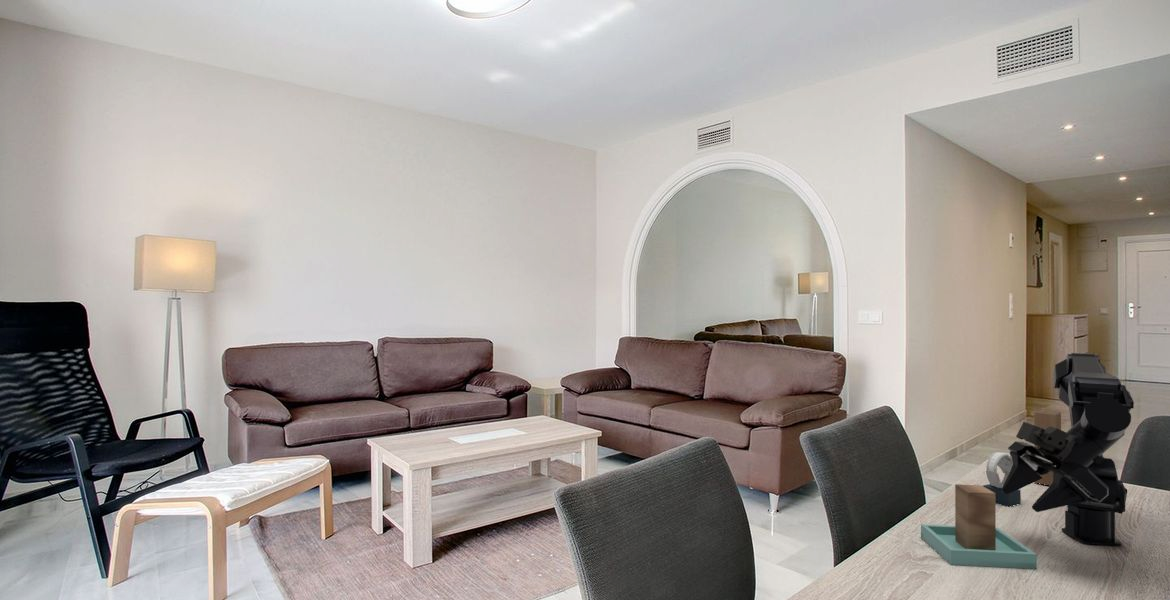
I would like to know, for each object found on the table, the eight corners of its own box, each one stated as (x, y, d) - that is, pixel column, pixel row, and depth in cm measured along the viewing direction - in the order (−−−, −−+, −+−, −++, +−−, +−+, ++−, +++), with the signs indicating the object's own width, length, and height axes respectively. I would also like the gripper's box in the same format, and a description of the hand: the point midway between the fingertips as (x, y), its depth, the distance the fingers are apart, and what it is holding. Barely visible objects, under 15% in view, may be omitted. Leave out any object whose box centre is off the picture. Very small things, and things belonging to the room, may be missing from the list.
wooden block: (1085, 489, 140) (1085, 414, 140) (1081, 493, 137) (1080, 416, 137) (1038, 480, 147) (1038, 408, 147) (1033, 483, 144) (1033, 411, 144)
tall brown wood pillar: (981, 542, 107) (981, 485, 107) (995, 552, 103) (995, 493, 103) (955, 540, 108) (955, 484, 108) (968, 551, 103) (968, 492, 103)
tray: (997, 540, 110) (997, 527, 110) (1036, 569, 99) (1036, 554, 99) (920, 537, 112) (920, 524, 112) (950, 564, 100) (950, 550, 100)
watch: (1025, 502, 130) (1025, 453, 130) (1003, 508, 127) (1003, 458, 127) (999, 495, 136) (999, 448, 136) (977, 500, 132) (977, 451, 132)
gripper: (1019, 399, 113) (958, 454, 114) (1087, 419, 94) (1013, 484, 96) (1064, 441, 112) (1001, 496, 113) (1142, 469, 93) (1066, 534, 95)
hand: (1018, 500), depth 104 cm, fingers open, 9 cm apart
